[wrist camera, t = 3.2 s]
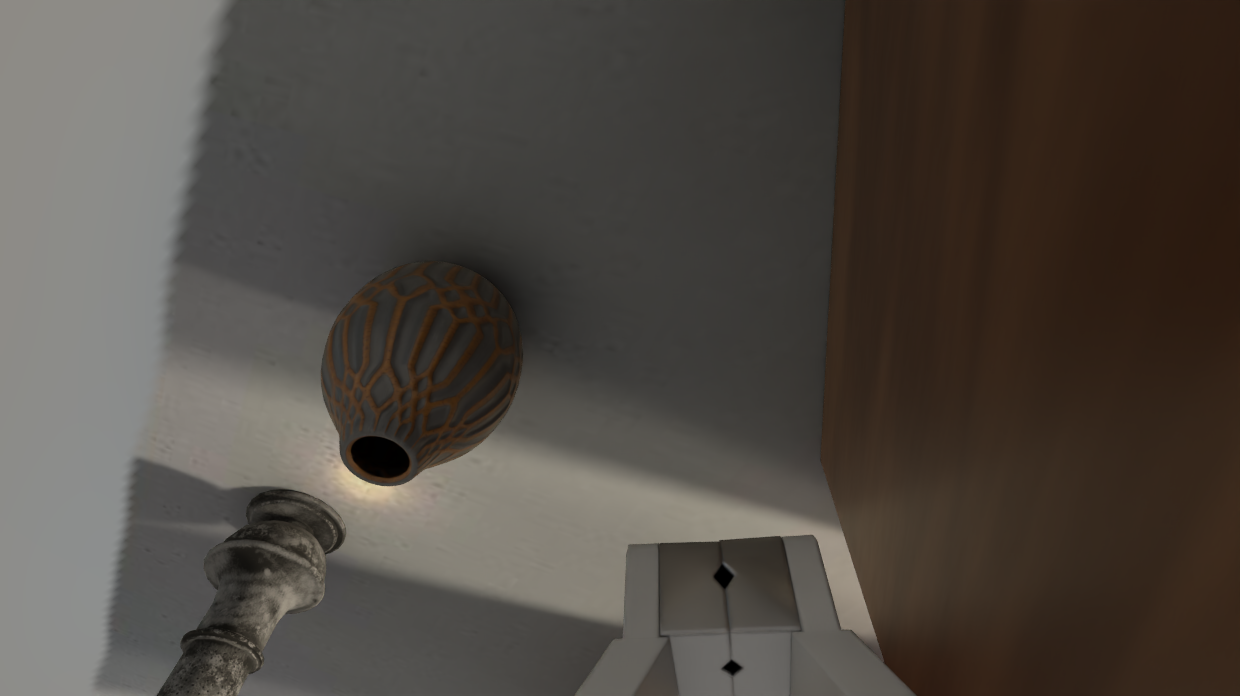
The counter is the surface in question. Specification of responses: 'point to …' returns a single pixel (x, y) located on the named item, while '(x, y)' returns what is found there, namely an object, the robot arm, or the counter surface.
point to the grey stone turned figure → (256, 590)
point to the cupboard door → (1040, 343)
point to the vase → (419, 369)
